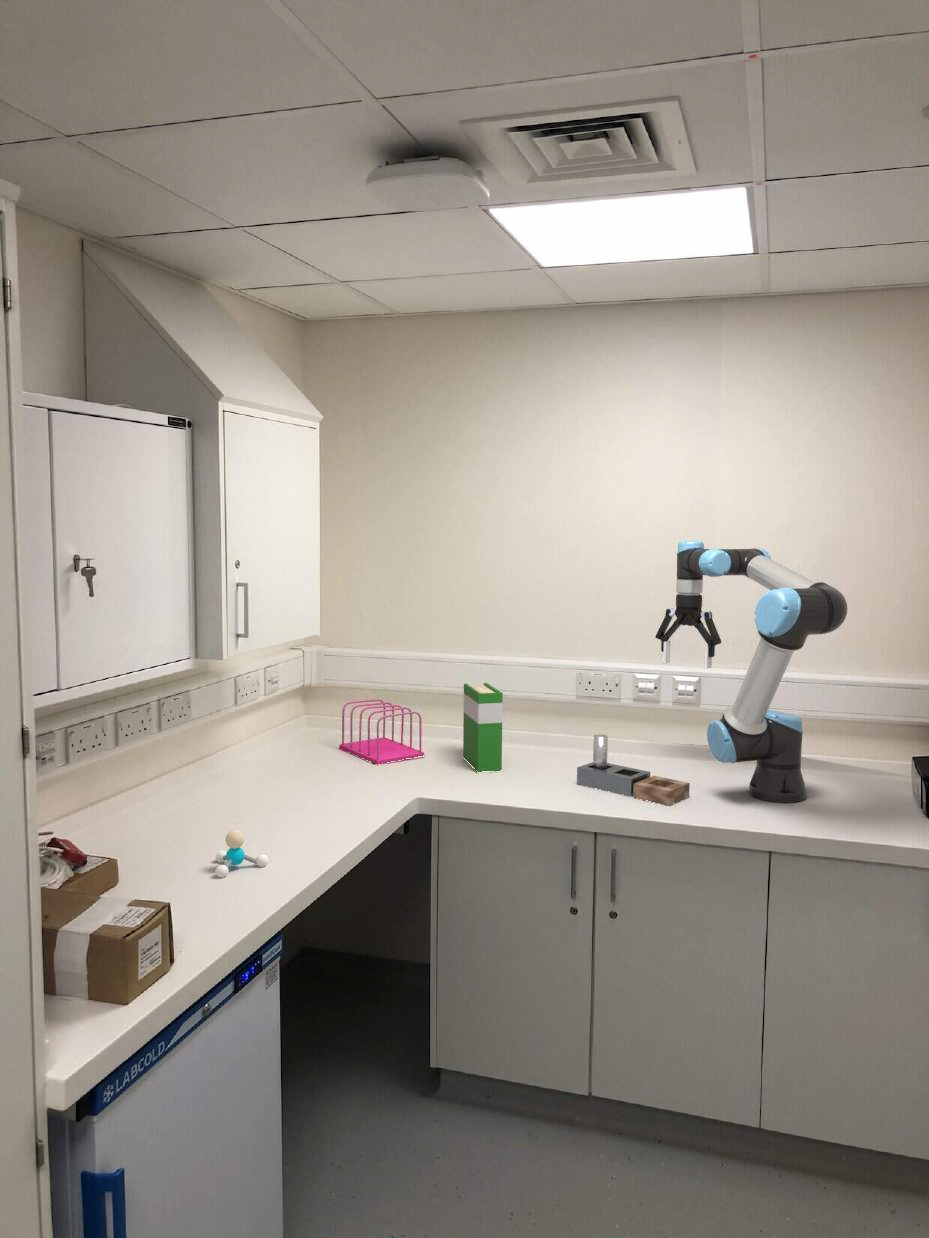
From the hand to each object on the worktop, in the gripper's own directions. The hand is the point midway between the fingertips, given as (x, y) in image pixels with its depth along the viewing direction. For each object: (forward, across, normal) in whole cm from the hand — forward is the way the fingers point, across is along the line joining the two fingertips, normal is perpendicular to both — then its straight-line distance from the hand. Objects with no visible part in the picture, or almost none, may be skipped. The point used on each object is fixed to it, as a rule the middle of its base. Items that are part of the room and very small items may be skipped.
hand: (686, 665), depth 287 cm
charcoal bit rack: (+33, +8, +26) cm, 43 cm away
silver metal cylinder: (+33, +12, +26) cm, 44 cm away
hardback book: (+33, +51, +33) cm, 69 cm away
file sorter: (+33, +84, +44) cm, 101 cm away
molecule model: (+33, +35, +136) cm, 144 cm away
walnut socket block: (+33, -8, +26) cm, 42 cm away
